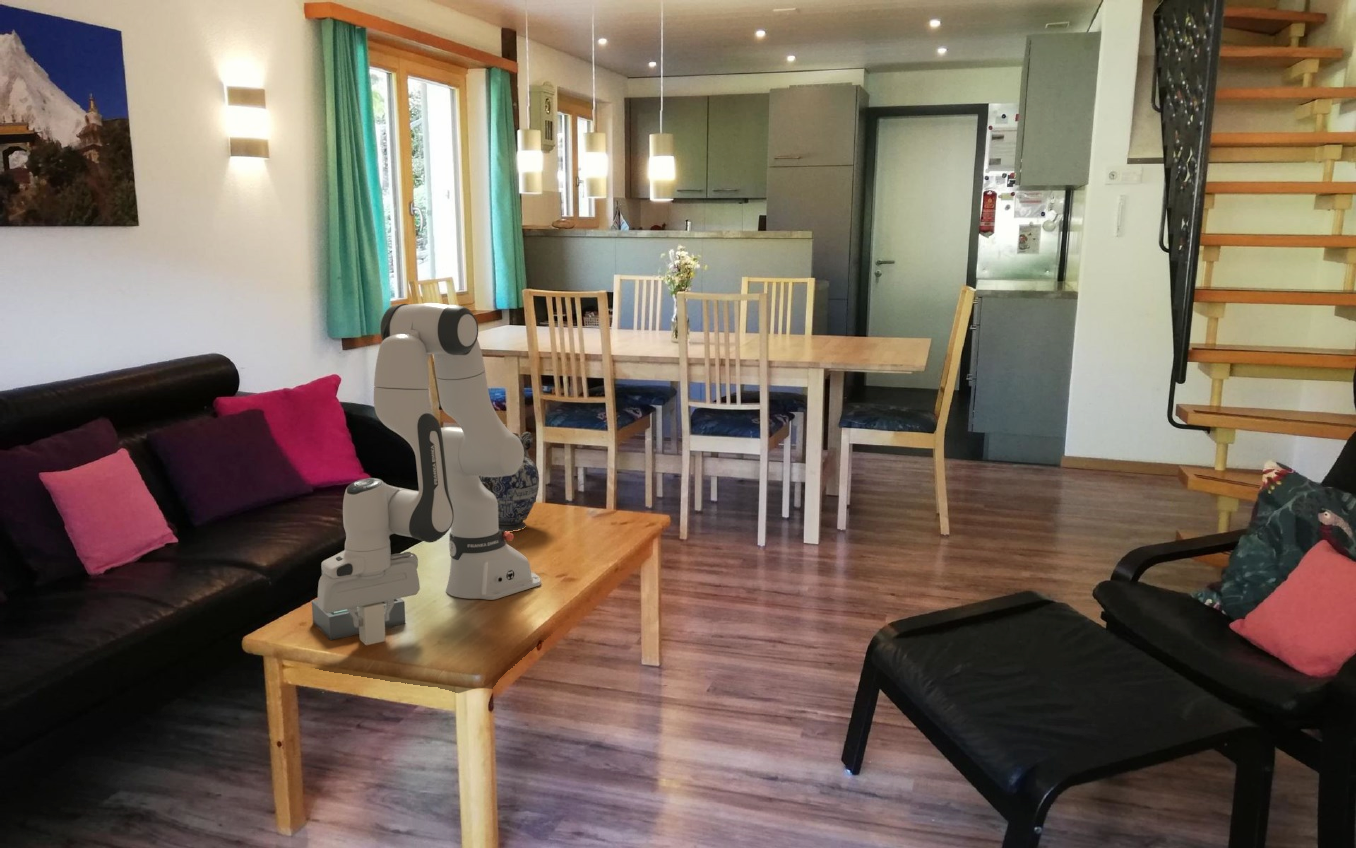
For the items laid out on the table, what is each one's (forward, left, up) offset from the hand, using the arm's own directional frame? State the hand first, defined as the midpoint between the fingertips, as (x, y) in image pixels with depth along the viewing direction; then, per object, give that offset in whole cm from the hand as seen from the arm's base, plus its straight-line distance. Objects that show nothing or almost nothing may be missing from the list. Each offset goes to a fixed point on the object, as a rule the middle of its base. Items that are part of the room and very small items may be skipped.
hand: (371, 623), depth 197 cm
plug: (0, 0, -4) cm, 4 cm away
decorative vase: (-62, -60, -4) cm, 86 cm away
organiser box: (-1, -11, -4) cm, 12 cm away
